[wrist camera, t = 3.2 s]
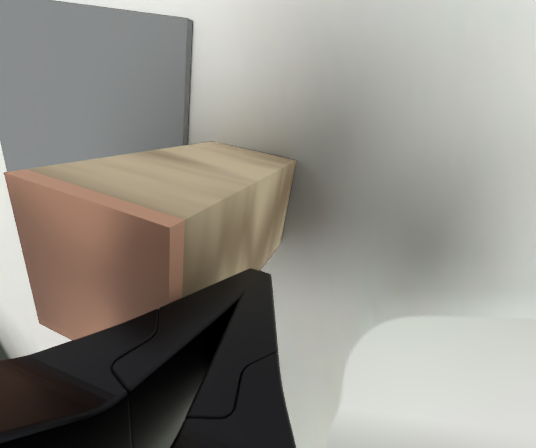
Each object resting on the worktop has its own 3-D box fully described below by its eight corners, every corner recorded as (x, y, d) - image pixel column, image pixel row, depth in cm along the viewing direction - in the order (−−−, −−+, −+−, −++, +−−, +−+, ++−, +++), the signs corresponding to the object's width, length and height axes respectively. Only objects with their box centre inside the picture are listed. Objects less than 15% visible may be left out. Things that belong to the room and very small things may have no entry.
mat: (181, 285, 20) (177, 289, 20) (28, 234, 23) (21, 237, 22) (192, 21, 14) (187, 17, 13) (-24, -8, 16) (-34, -11, 16)
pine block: (280, 244, 17) (168, 389, 8) (206, 221, 18) (39, 323, 9) (296, 160, 15) (169, 227, 6) (211, 141, 16) (3, 172, 7)
